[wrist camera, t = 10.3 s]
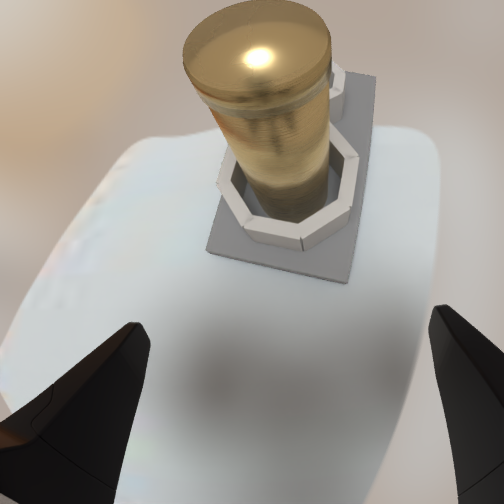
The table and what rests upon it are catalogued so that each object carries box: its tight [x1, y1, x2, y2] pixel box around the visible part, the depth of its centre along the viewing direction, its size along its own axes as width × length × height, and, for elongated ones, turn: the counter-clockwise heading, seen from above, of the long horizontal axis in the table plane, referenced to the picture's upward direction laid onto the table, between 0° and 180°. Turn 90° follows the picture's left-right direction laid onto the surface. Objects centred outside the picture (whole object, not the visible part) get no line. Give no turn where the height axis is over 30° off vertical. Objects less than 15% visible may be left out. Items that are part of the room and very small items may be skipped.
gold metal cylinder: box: [183, 0, 332, 224], centre depth 14 cm, size 5×5×12 cm
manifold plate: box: [205, 61, 376, 284], centre depth 19 cm, size 16×9×4 cm, turn 165°
